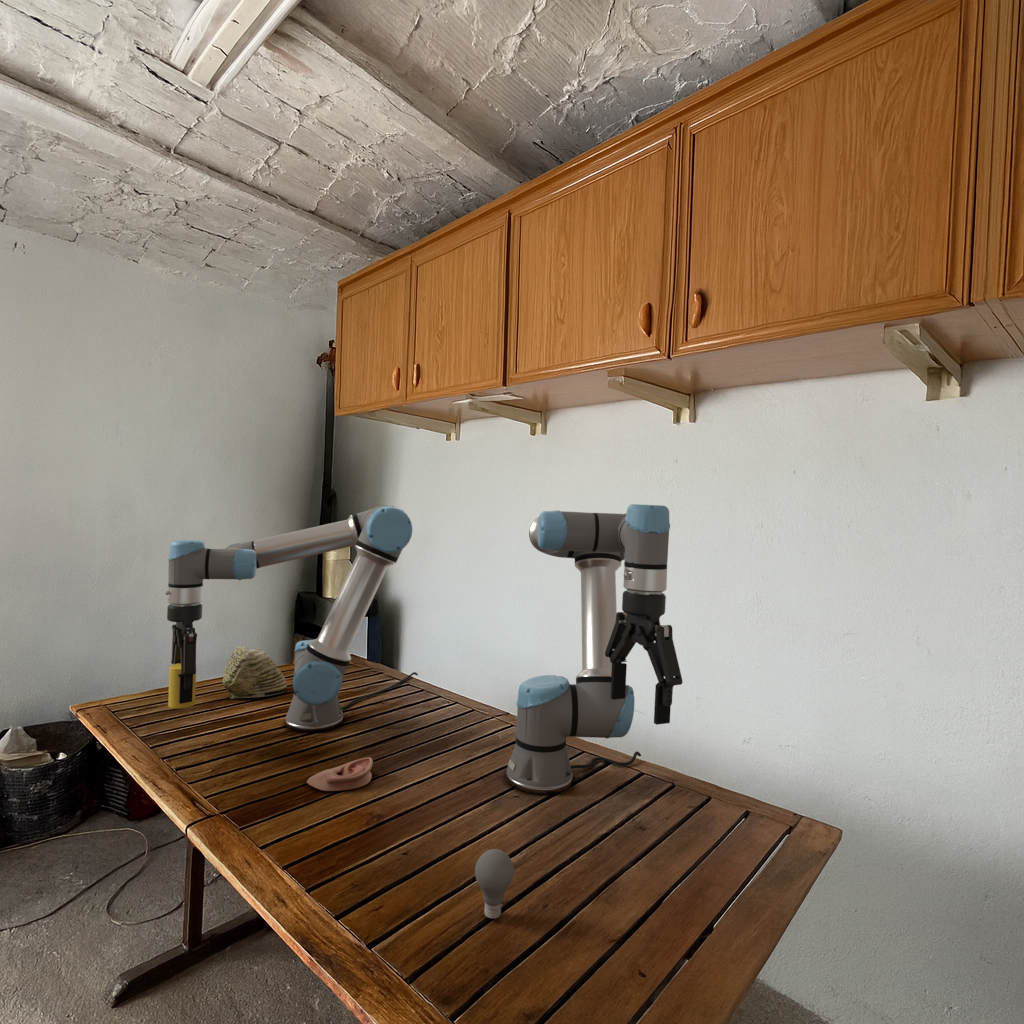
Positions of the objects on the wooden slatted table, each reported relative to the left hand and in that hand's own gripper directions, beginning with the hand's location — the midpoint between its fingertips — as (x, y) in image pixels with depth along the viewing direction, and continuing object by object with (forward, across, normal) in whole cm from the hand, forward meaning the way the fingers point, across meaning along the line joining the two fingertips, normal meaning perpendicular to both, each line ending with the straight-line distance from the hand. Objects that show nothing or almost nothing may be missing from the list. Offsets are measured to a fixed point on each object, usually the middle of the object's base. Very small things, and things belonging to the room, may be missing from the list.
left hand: (182, 698), depth 154 cm
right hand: (-15, +97, +52) cm, 111 cm away
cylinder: (+2, 0, 0) cm, 2 cm away
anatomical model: (+13, +37, +24) cm, 46 cm away
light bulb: (+13, +93, +23) cm, 97 cm away
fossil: (+13, -34, +28) cm, 46 cm away
